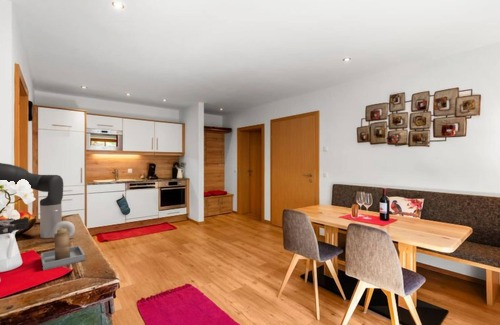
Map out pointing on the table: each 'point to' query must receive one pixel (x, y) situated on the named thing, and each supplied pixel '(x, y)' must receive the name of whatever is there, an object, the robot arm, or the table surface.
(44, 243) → the table surface
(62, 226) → the donut
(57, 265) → the tray
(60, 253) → the pepper mill
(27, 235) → the table surface
